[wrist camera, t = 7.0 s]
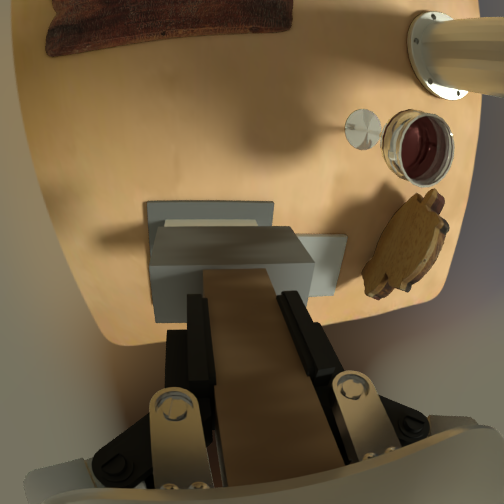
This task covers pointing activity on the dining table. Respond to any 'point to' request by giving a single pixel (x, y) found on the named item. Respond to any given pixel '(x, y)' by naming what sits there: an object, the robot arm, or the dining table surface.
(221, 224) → the tile
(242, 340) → the brown grey t-shaped piece
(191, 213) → the rubber mat
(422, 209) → the wooden carving
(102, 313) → the dining table surface
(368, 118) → the wineglass
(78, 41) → the wooden tablet
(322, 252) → the pad
